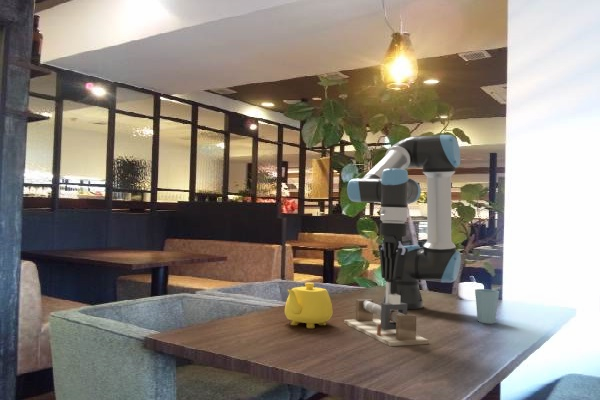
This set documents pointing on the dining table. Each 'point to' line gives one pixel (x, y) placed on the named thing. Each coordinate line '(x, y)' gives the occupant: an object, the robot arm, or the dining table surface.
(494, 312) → the cup
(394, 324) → the grey sliding frame
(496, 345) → the dining table surface
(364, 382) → the dining table surface
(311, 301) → the teapot
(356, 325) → the pipe rig
